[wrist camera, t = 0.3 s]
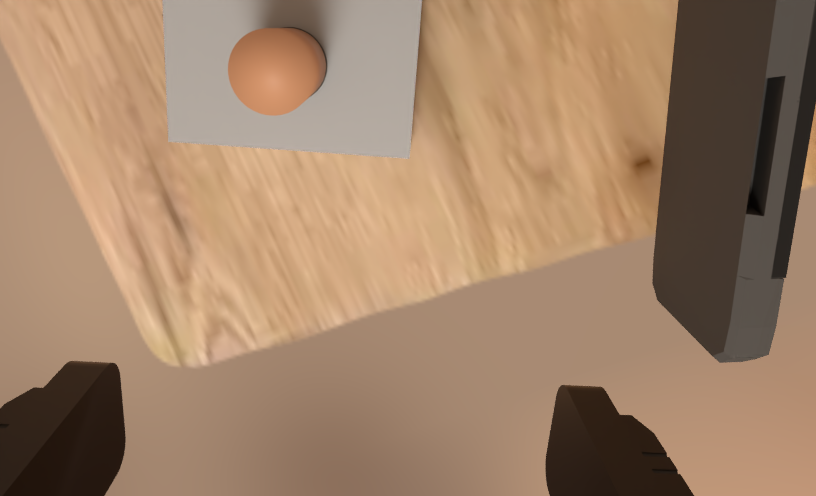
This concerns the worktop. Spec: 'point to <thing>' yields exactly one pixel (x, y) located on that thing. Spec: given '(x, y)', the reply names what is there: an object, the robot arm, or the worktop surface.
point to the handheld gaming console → (734, 167)
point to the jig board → (321, 120)
